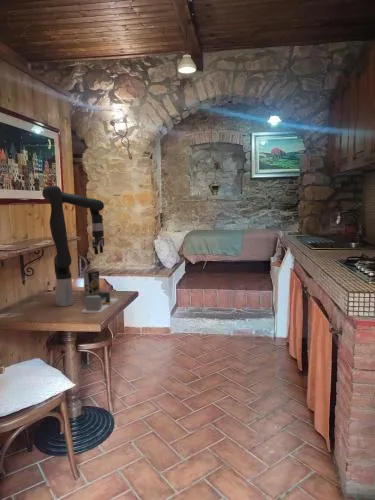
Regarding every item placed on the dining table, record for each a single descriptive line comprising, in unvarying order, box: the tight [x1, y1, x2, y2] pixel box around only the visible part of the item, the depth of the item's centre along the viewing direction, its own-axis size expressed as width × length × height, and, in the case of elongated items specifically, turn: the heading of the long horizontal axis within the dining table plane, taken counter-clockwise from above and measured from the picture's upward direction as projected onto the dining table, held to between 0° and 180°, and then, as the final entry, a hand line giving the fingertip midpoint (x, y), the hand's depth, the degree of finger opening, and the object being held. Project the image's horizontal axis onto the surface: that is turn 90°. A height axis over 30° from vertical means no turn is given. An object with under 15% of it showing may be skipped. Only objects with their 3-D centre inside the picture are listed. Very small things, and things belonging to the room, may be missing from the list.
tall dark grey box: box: [97, 291, 111, 306], centre depth 233 cm, size 10×13×6 cm
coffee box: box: [83, 270, 101, 296], centre depth 268 cm, size 9×6×16 cm
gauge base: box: [80, 295, 120, 314], centre depth 234 cm, size 12×31×9 cm, turn 170°
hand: (99, 253), depth 255 cm, fingers open, 8 cm apart
